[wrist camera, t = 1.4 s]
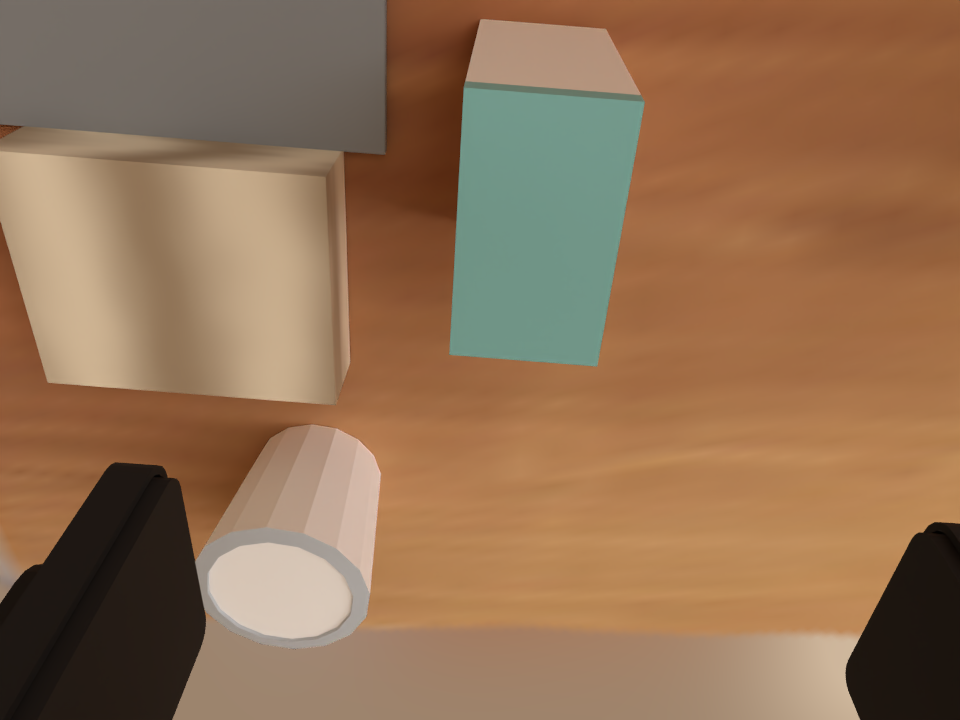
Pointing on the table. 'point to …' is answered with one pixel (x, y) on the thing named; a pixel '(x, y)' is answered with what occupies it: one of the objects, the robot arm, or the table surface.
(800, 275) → the table surface
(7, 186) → the birch step
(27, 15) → the grey mat
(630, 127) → the cream block
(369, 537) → the pale pink cylinder
